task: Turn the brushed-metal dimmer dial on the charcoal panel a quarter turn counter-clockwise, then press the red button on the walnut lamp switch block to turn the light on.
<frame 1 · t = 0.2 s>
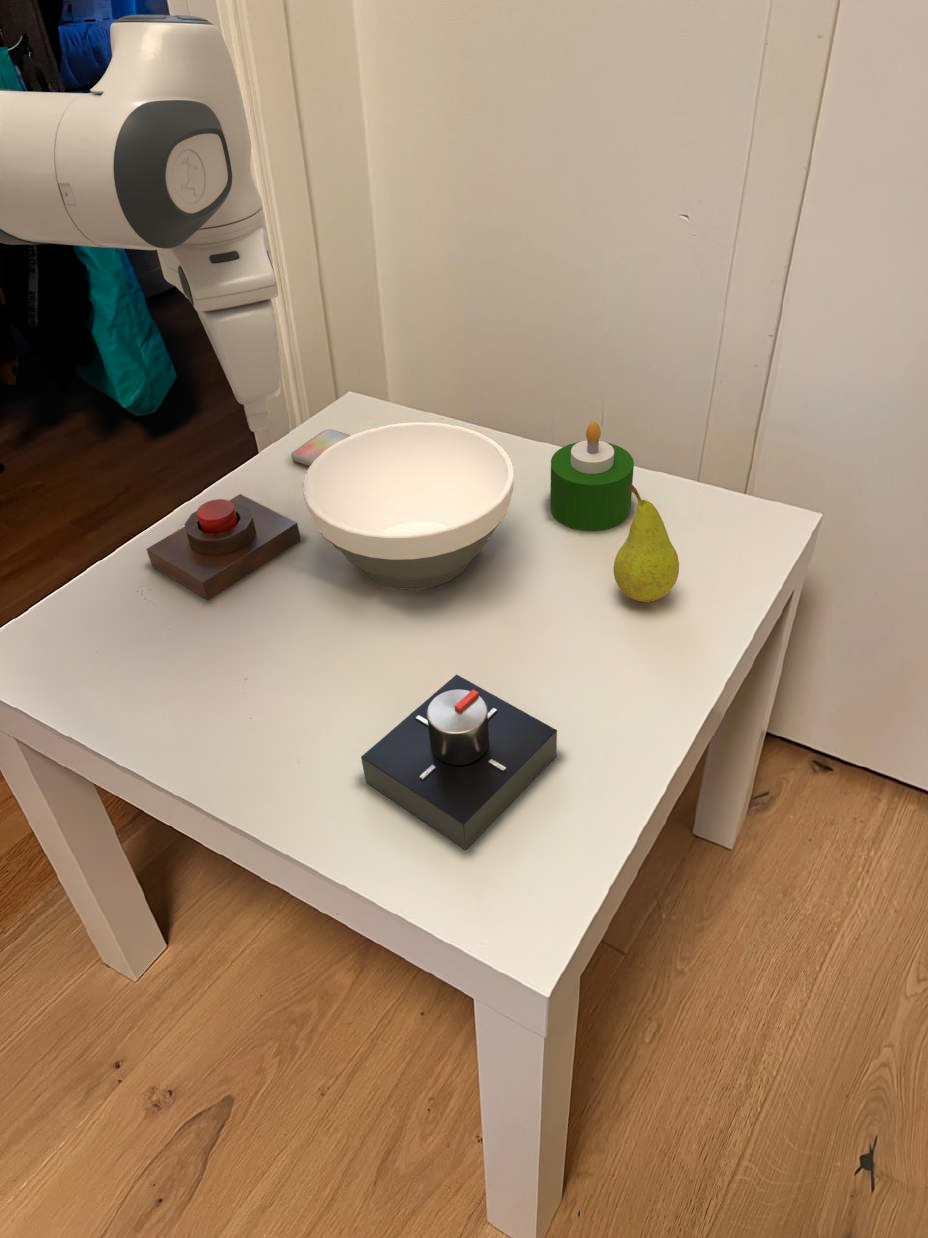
hand: (248, 403, 85), 16 cm above the table, tool pointing down, fingers open, 8 cm apart
candle: (590, 509, 98), on the table
lamp switch: (227, 553, 95), on the table
fruit: (642, 597, 87), on the table
dimmer panel: (461, 769, 72), on the table
smartphone: (359, 464, 107), on the table
light button: (217, 516, 92), point 4 cm above the table, slide at 0.1 cm
bowl: (417, 558, 93), on the table
dimmer knob: (458, 725, 69), point 5 cm above the table, hinge at 0.0°
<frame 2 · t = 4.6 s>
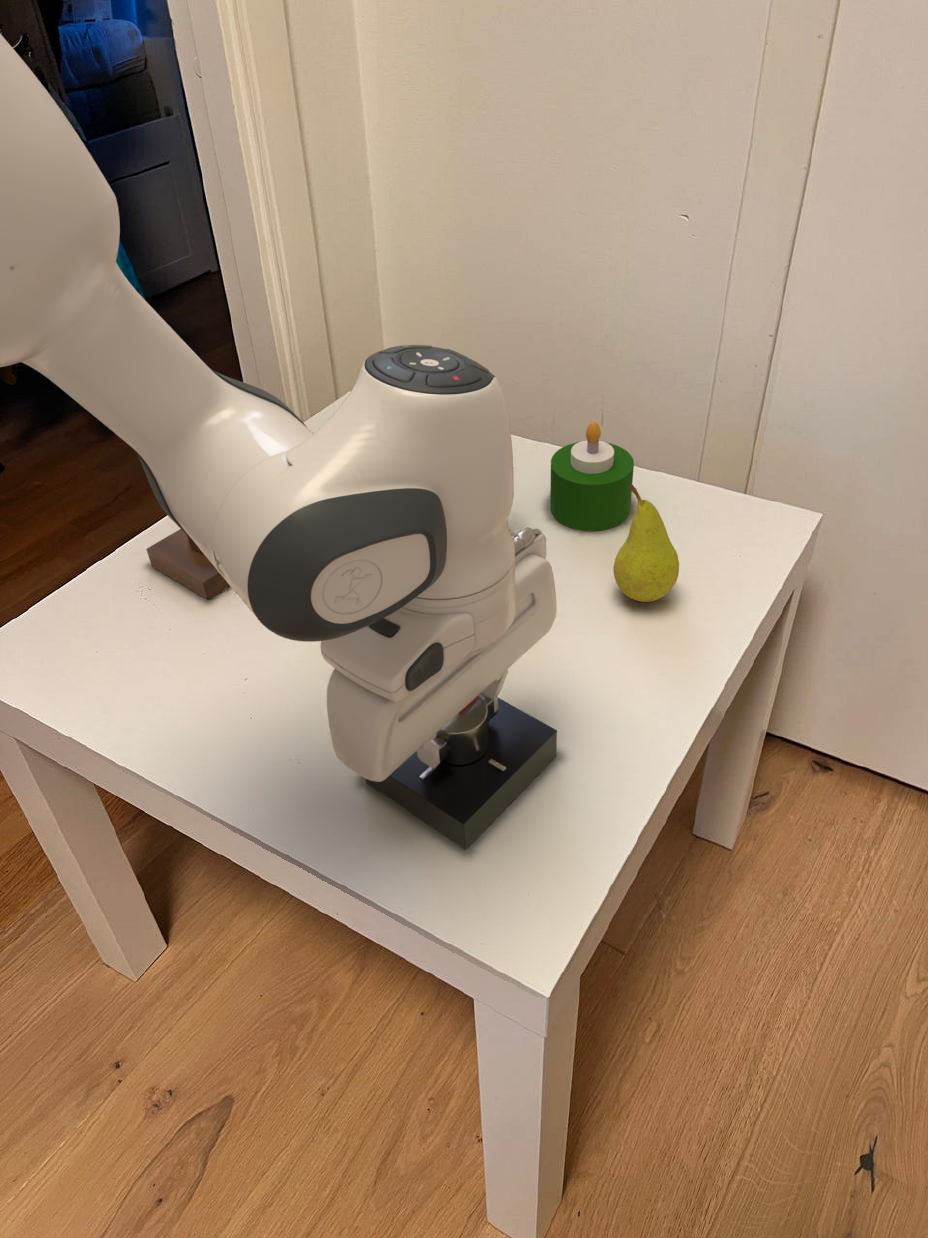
hand: (458, 735, 70), 4 cm above the table, tool pointing down, fingers closed on dimmer knob, 4 cm apart
dimmer knob: (458, 725, 69), point 5 cm above the table, hinge at 0.0°, touching gripper
everything else where it was.
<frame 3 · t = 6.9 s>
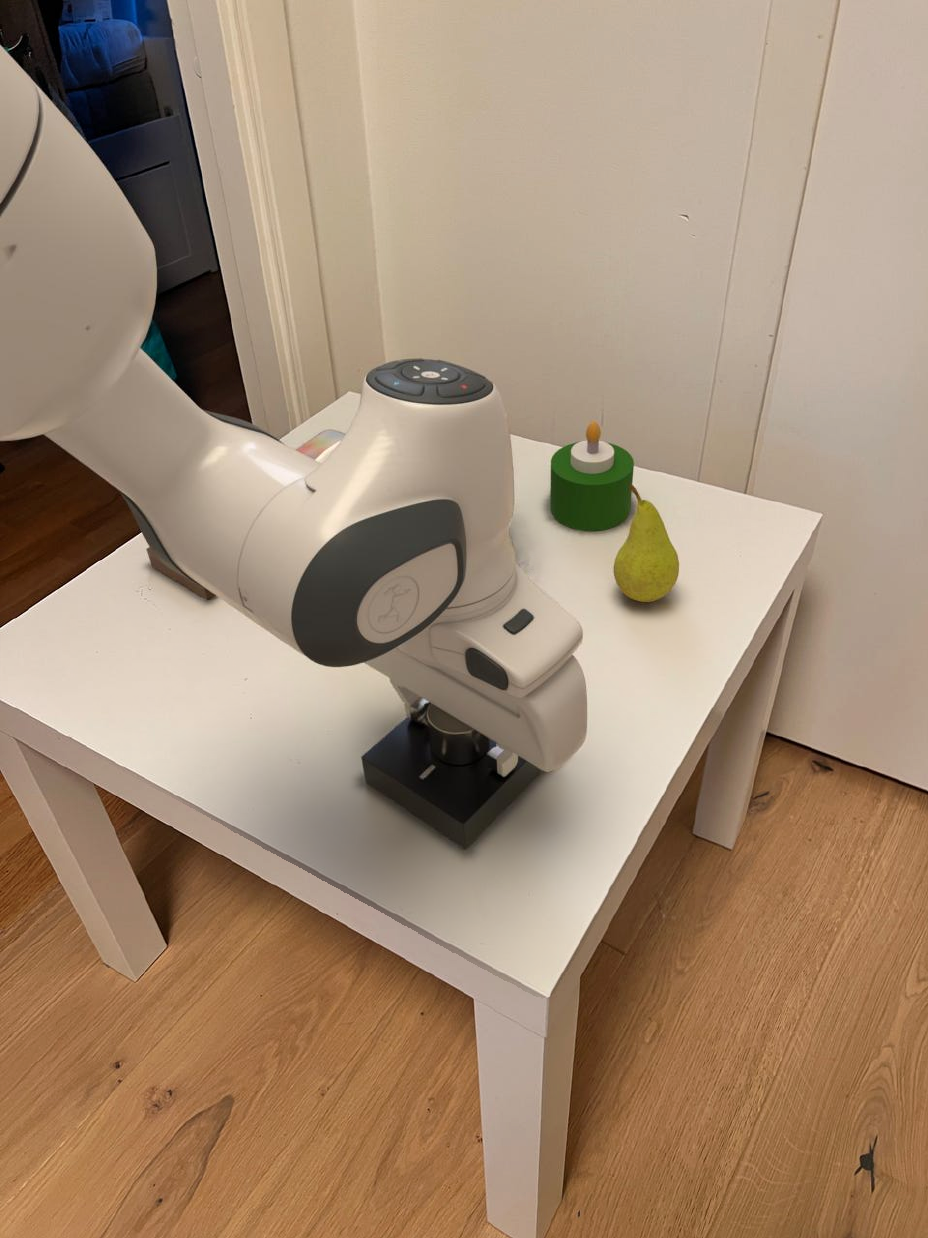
hand: (460, 740, 70), 3 cm above the table, tool pointing down, fingers open, 7 cm apart
dimmer knob: (458, 725, 69), point 5 cm above the table, hinge at 85.5°
everything else where it was.
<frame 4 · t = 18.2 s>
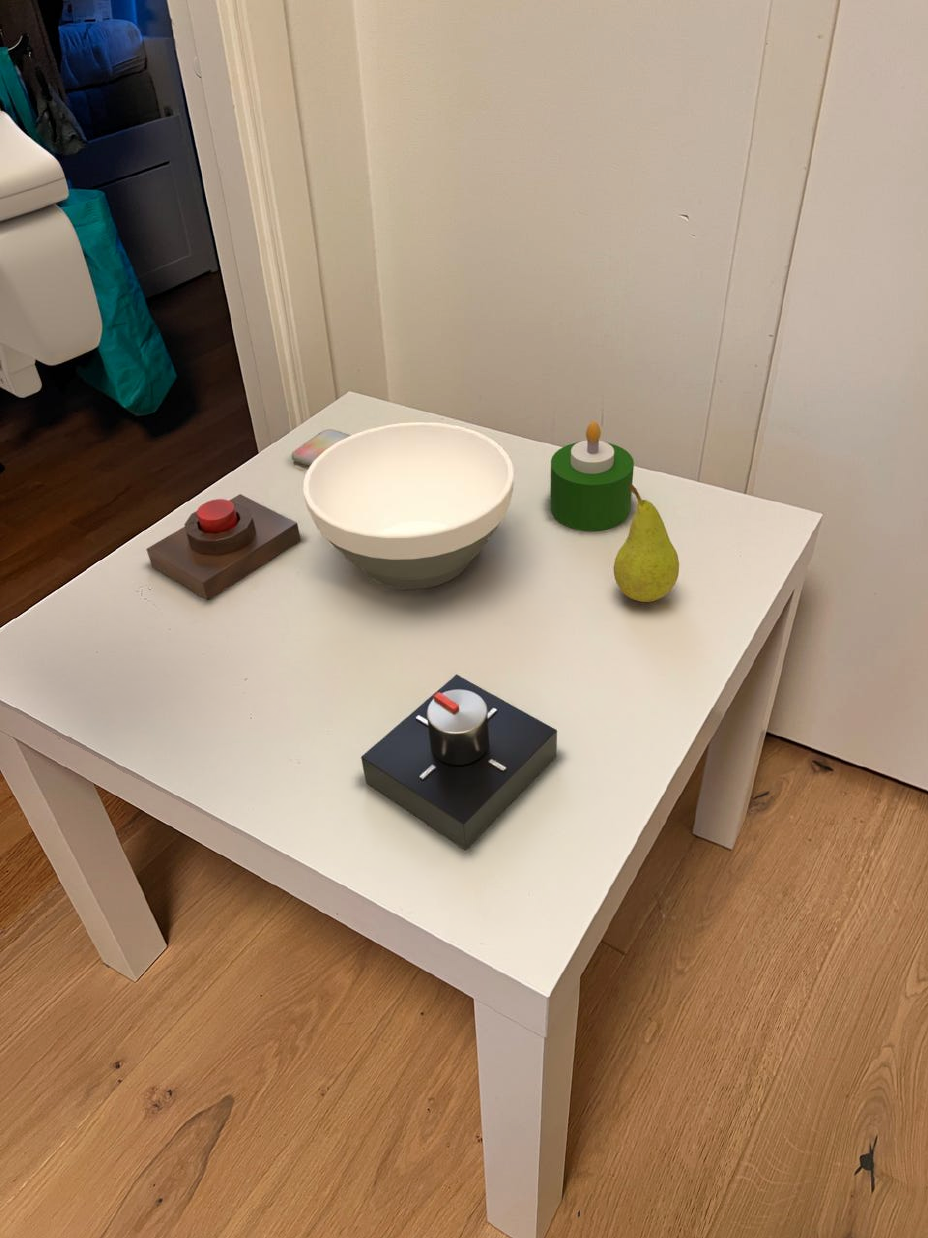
hand: (19, 388, 60), 29 cm above the table, tool pointing down, fingers closed
nothing on the table moved.
at the end: dimmer knob at +86° (first picture: +0°); light button pushed in 1.0 cm at the most during the clip, back to where it started at the end; light button slide at 0.1 cm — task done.
